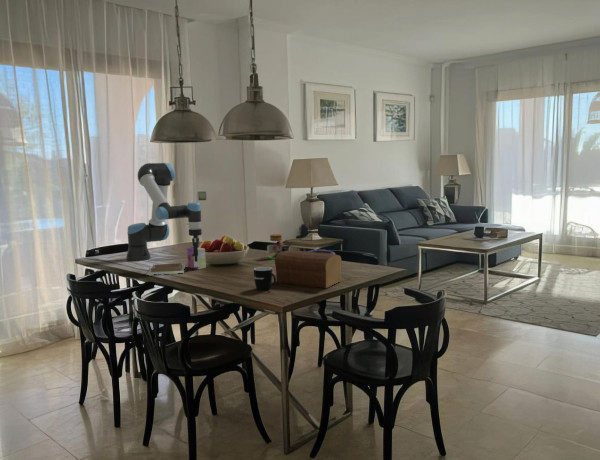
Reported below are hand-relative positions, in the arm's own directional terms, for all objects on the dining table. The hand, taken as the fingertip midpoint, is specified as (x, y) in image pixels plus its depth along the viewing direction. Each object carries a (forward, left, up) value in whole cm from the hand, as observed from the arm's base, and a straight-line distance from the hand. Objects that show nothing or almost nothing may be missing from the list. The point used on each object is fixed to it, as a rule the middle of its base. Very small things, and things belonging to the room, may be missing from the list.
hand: (196, 264), depth 311 cm
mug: (+64, +35, -2) cm, 73 cm away
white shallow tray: (+5, -17, -2) cm, 18 cm away
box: (0, 0, -2) cm, 2 cm away
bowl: (+22, +71, -2) cm, 74 cm away
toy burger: (-21, +51, -2) cm, 55 cm away
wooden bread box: (+54, +58, -2) cm, 79 cm away
